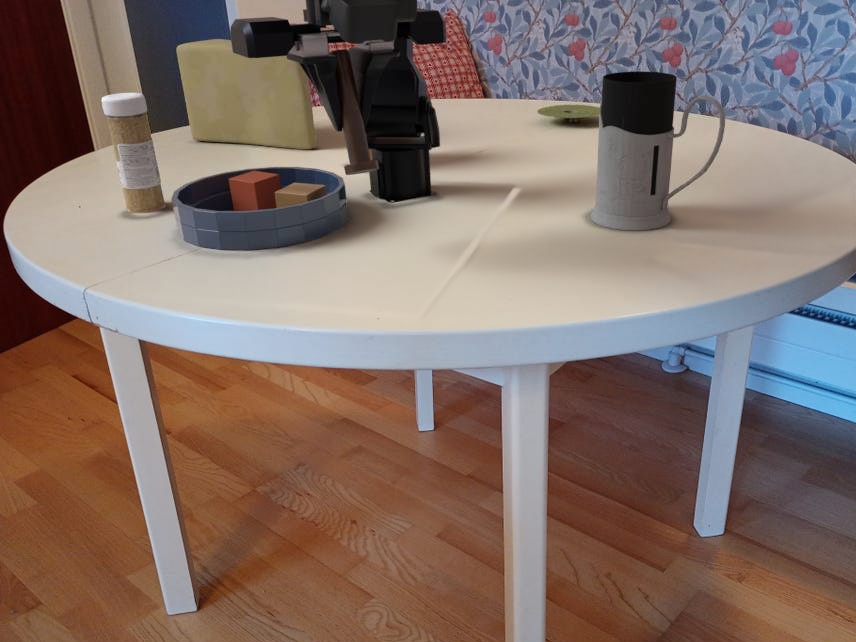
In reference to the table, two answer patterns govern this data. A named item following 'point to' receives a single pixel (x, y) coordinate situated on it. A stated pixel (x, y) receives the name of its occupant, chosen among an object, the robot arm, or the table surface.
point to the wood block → (299, 194)
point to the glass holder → (639, 149)
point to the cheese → (245, 97)
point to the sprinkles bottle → (134, 151)
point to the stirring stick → (352, 117)
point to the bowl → (257, 212)
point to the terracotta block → (254, 191)
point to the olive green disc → (570, 111)
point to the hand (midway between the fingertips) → (350, 129)
